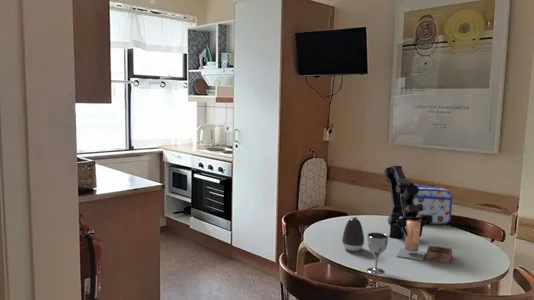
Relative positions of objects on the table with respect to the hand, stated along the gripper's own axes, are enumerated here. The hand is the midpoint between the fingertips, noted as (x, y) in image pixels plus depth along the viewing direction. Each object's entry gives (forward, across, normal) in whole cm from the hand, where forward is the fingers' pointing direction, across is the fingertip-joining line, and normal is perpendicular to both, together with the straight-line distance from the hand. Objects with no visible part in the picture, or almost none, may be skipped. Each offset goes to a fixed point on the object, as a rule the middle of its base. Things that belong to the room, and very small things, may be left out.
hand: (413, 236), depth 188 cm
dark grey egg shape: (+3, -26, +11) cm, 28 cm away
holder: (+7, +12, +6) cm, 15 cm away
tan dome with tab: (+5, 0, +5) cm, 7 cm away
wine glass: (+20, -20, -6) cm, 29 cm away
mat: (+6, 0, +7) cm, 9 cm away
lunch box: (-32, +23, +46) cm, 61 cm away
